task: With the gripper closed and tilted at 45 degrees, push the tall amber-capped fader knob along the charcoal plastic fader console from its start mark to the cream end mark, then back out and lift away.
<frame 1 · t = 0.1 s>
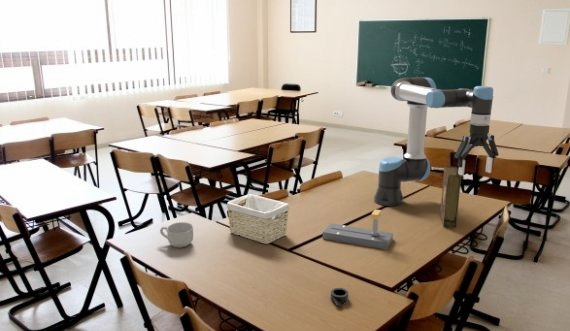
hand: (474, 173, 203), 28 cm above the table, tool pointing down, fingers open, 13 cm apart
fader knob: (375, 223, 200), point 8 cm above the table, slide at 0.0 cm
teacup: (177, 244, 199), on the table
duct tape: (339, 300, 157), on the table
book: (447, 222, 225), on the table
fader console: (357, 239, 205), on the table
storage basket: (258, 234, 210), on the table
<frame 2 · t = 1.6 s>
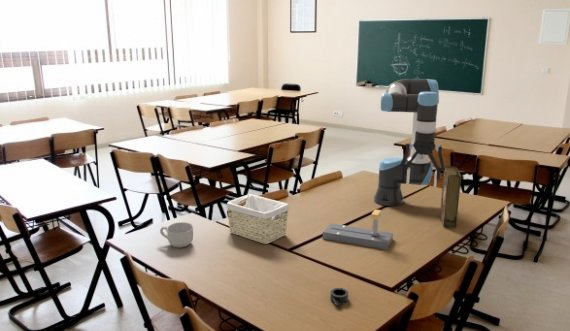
hand: (421, 185, 194), 26 cm above the table, tool pointing down, fingers open, 10 cm apart
nothing on the table moved.
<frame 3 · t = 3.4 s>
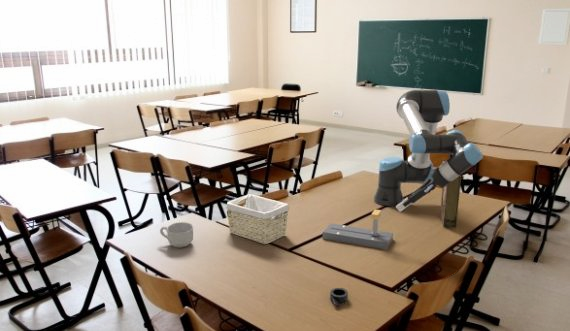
hand: (398, 209, 194), 16 cm above the table, tool tilted 45°, fingers closed
nothing on the table moved.
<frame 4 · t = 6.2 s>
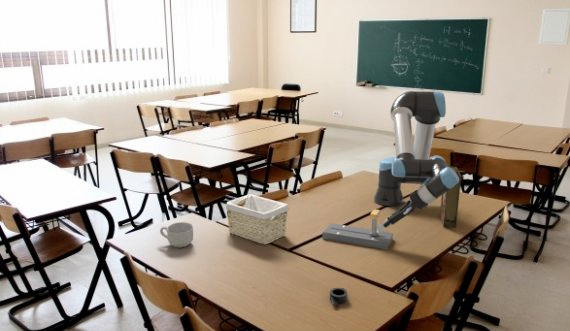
hand: (379, 229, 200), 6 cm above the table, tool tilted 45°, fingers closed
fader knob: (374, 223, 200), point 8 cm above the table, slide at 0.5 cm, touching gripper
everything else where it was.
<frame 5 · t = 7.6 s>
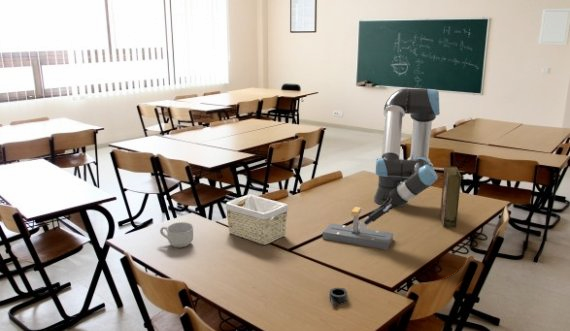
hand: (360, 226, 203), 6 cm above the table, tool tilted 45°, fingers closed
fader knob: (356, 220, 203), point 8 cm above the table, slide at 8.5 cm, touching gripper
everything else where it was.
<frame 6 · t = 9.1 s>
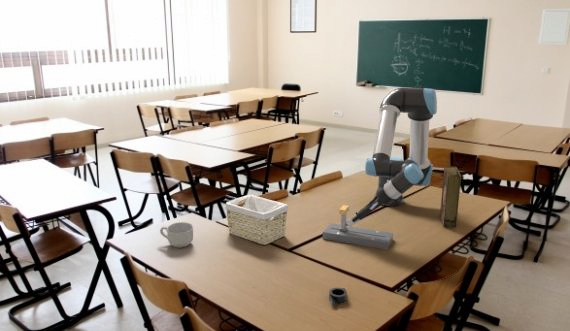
hand: (348, 224, 205), 6 cm above the table, tool tilted 45°, fingers closed
fader knob: (343, 218, 205), point 8 cm above the table, slide at 13.9 cm, touching gripper
everything else where it was.
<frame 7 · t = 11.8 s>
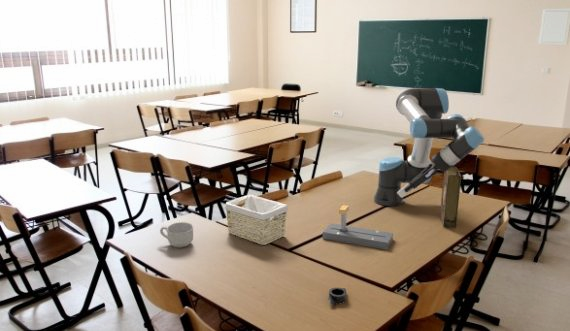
hand: (399, 194, 193), 22 cm above the table, tool tilted 45°, fingers closed
fader knob: (343, 218, 205), point 8 cm above the table, slide at 14.0 cm
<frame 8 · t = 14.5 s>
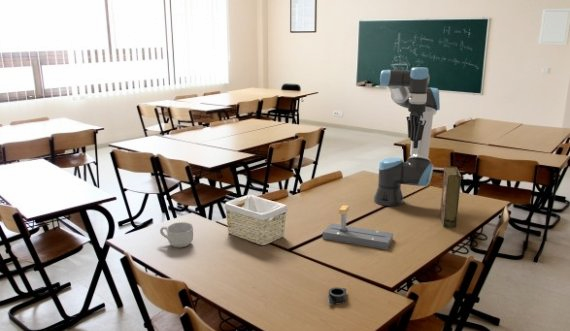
hand: (413, 154, 217), 32 cm above the table, tool pointing down, fingers closed
at the end: fader knob slide at 14.0 cm; fader knob touching nothing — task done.
